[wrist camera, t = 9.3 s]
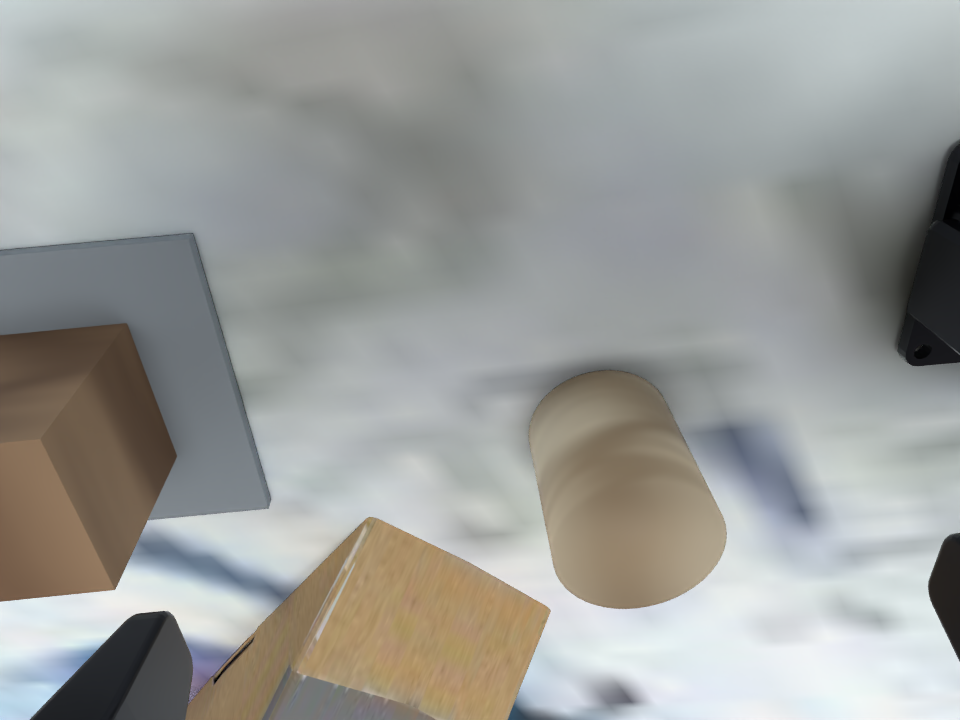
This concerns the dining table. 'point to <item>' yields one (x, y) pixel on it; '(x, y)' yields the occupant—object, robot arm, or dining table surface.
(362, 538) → the sandwich container
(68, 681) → the robot arm
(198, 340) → the felt pad
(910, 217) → the dining table surface
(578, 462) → the beech cylinder
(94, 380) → the walnut block
